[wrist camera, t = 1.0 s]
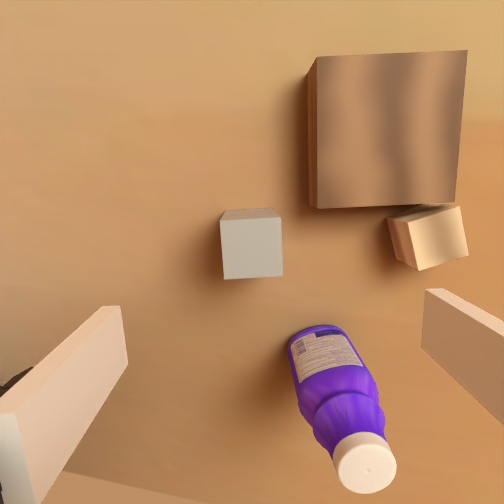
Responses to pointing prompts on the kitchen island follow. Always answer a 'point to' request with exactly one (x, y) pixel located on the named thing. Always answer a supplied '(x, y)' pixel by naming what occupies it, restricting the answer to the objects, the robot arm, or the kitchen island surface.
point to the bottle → (342, 407)
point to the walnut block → (384, 128)
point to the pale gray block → (251, 243)
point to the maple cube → (428, 235)
